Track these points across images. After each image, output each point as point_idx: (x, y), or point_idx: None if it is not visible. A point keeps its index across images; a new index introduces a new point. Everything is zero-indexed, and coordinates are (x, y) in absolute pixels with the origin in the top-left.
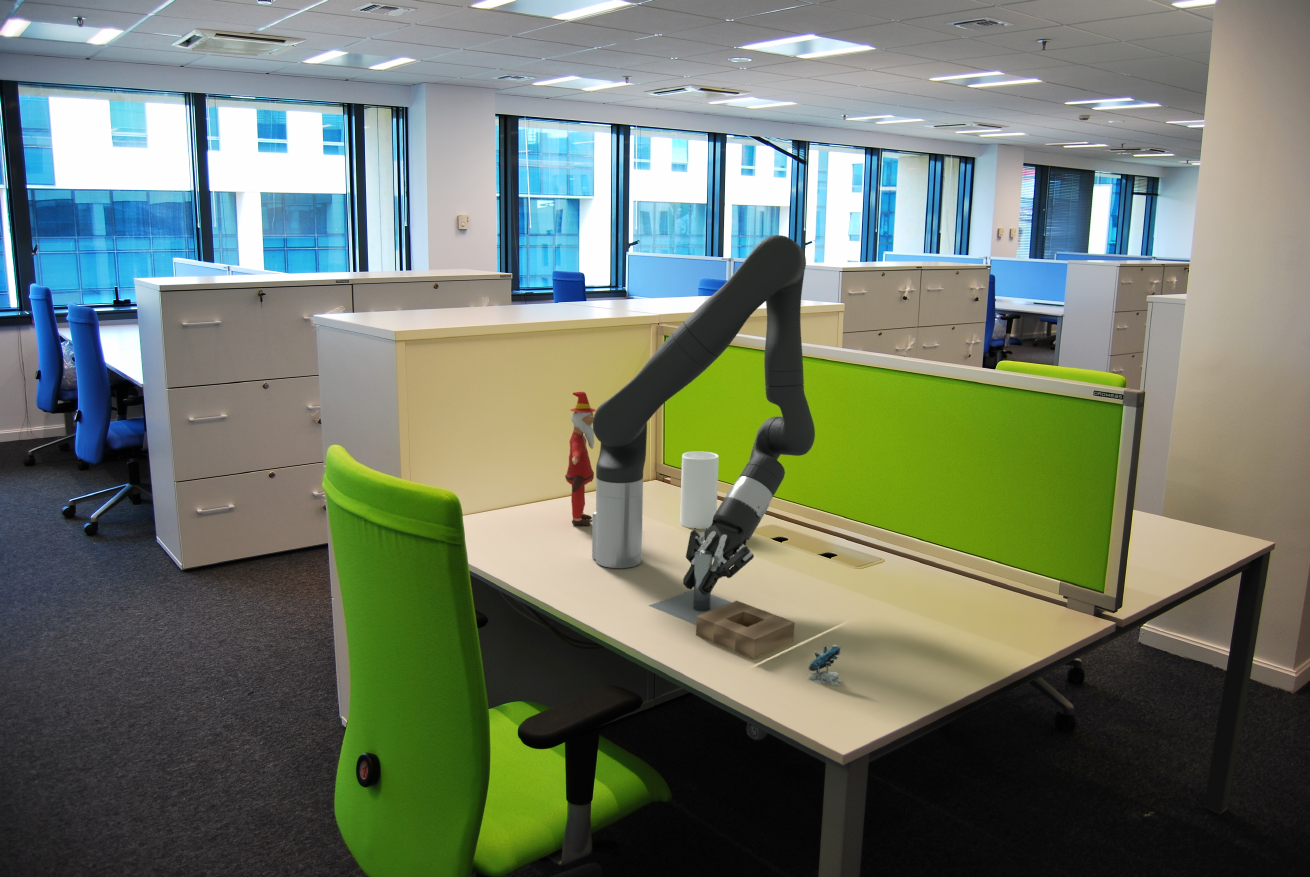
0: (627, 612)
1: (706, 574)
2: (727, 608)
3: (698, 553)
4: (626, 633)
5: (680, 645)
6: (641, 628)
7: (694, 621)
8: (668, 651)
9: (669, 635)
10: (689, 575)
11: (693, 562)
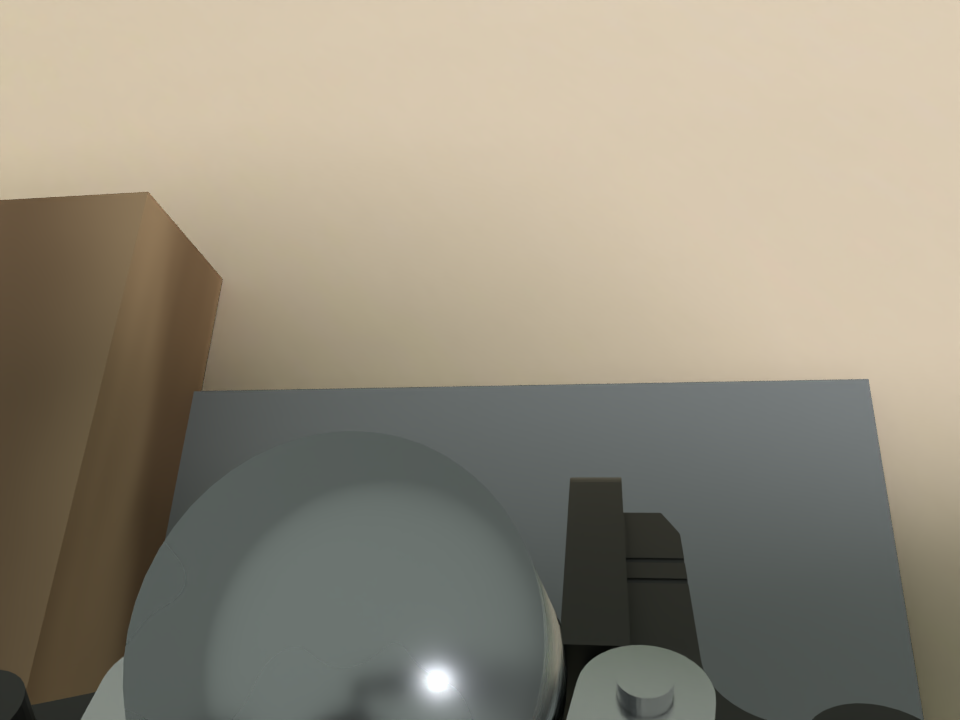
0: (869, 199)
1: None
2: (12, 498)
3: (407, 530)
4: (578, 16)
5: (228, 138)
6: (571, 114)
7: (359, 422)
8: (237, 51)
9: (366, 175)
10: (581, 534)
11: (641, 661)
